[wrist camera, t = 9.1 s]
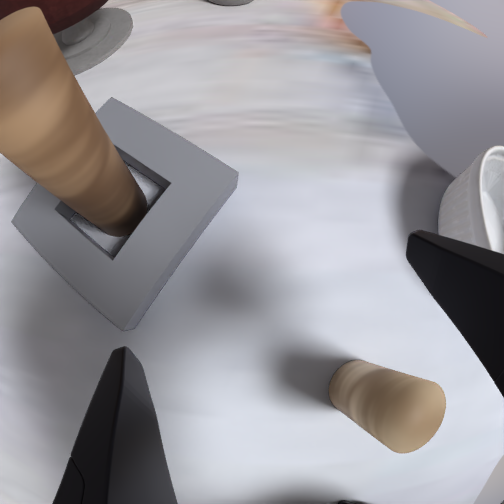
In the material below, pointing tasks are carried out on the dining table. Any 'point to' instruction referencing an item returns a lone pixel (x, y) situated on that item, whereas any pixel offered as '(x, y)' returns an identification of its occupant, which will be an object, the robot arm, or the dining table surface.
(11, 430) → the dining table surface
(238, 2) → the travel mug
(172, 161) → the socket board
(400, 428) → the short beech pin
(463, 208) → the ramekin
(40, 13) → the walnut pin
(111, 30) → the mate gourd
